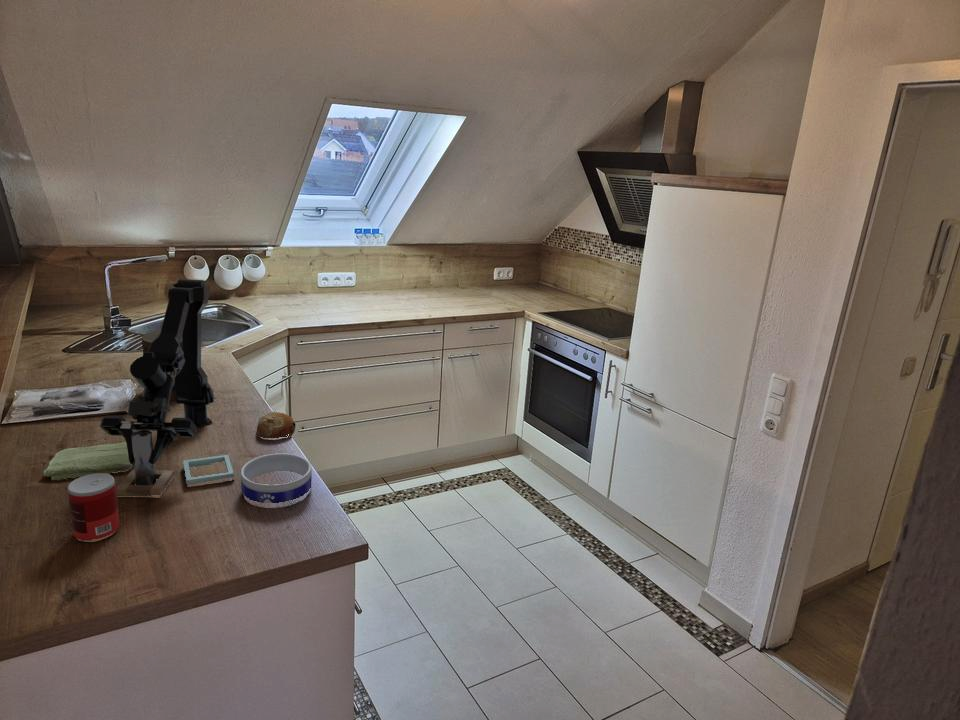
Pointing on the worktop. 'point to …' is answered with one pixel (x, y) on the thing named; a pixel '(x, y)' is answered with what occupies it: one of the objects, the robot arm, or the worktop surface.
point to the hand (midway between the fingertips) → (141, 463)
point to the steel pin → (143, 457)
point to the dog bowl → (276, 491)
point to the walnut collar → (144, 490)
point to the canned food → (93, 506)
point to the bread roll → (275, 425)
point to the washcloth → (89, 461)
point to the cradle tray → (207, 462)
